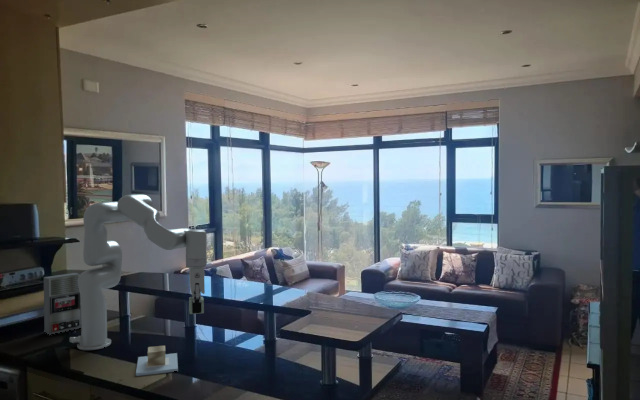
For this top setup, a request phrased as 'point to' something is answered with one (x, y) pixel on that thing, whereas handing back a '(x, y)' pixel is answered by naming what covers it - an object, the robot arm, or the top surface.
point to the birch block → (156, 355)
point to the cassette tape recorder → (61, 303)
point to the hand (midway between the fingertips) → (196, 310)
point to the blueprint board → (169, 366)
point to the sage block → (191, 305)
